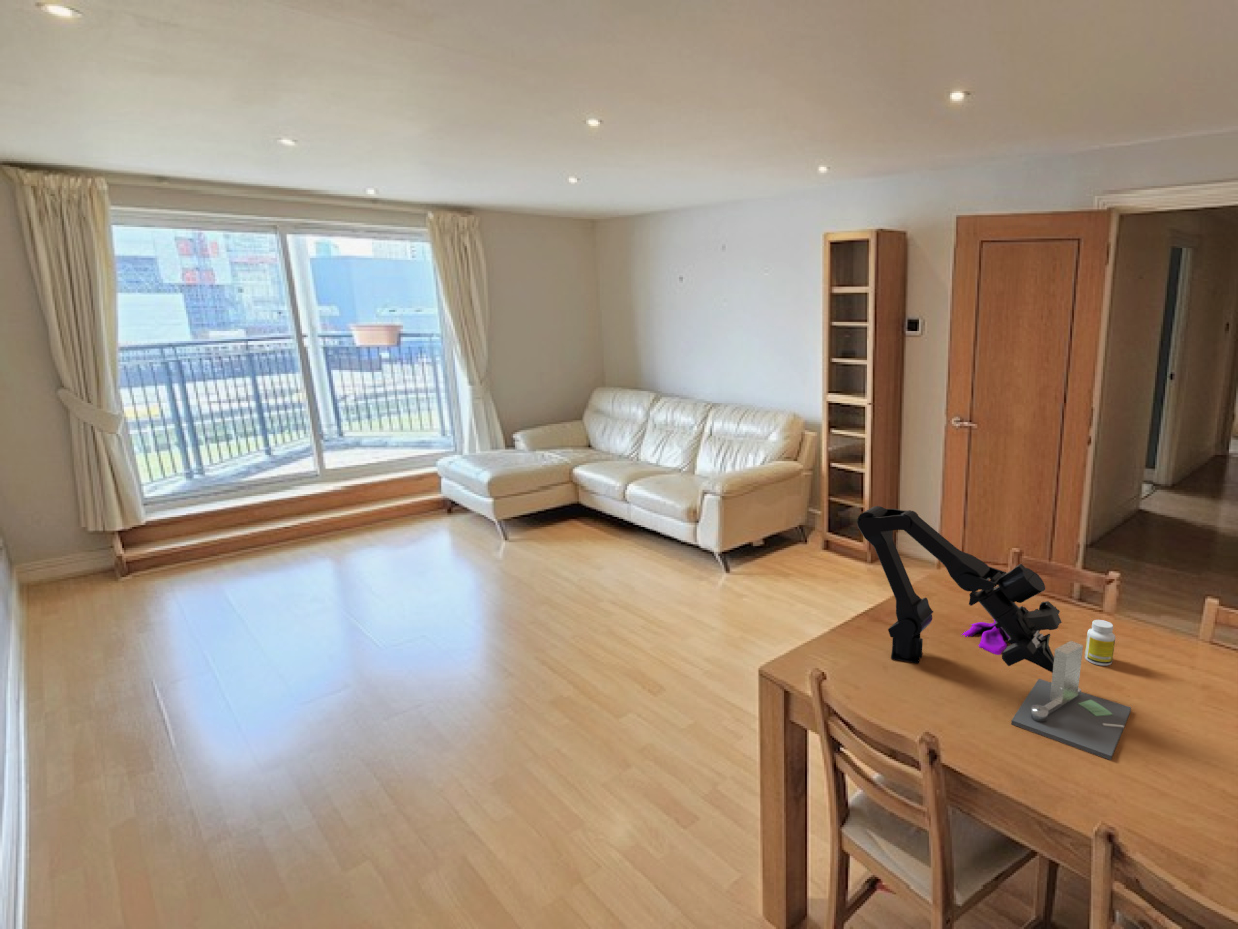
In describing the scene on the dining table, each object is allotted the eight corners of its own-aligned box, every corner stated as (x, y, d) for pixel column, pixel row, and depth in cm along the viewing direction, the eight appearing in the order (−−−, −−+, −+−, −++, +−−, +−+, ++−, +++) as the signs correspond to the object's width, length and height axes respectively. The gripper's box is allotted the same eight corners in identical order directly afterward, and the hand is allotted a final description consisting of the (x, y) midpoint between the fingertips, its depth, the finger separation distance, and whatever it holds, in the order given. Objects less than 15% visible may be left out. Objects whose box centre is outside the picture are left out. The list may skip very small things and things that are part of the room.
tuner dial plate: (1112, 761, 124) (1112, 755, 124) (1011, 724, 137) (1011, 719, 136) (1131, 711, 138) (1132, 706, 137) (1038, 682, 150) (1038, 677, 150)
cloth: (1020, 619, 179) (1022, 599, 177) (1061, 655, 161) (1063, 633, 159) (937, 623, 180) (938, 603, 179) (968, 659, 162) (970, 637, 161)
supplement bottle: (1116, 667, 154) (1121, 629, 151) (1090, 666, 155) (1095, 628, 152) (1105, 655, 159) (1109, 618, 156) (1080, 654, 160) (1084, 617, 157)
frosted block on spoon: (1042, 723, 134) (1048, 666, 131) (1027, 716, 137) (1032, 659, 134) (1085, 697, 142) (1091, 641, 138) (1070, 690, 144) (1076, 636, 141)
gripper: (1023, 611, 133) (1082, 677, 128) (1048, 580, 146) (1102, 640, 141) (979, 633, 141) (1033, 698, 136) (1006, 602, 153) (1057, 660, 148)
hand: (1058, 673), depth 140 cm, fingers closed
